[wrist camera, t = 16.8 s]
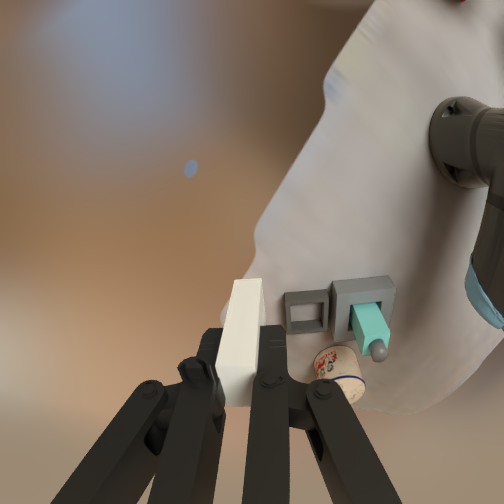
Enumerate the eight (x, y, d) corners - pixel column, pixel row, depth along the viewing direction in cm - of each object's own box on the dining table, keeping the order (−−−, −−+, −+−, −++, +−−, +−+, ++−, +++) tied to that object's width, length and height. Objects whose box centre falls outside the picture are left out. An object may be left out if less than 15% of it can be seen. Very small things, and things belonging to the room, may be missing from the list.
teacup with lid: (328, 338, 50) (338, 385, 40) (365, 350, 52) (379, 394, 41) (297, 376, 55) (300, 421, 45) (332, 385, 56) (339, 428, 46)
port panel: (388, 275, 44) (396, 287, 41) (381, 321, 48) (387, 335, 45) (332, 280, 45) (337, 294, 42) (330, 328, 49) (333, 342, 46)
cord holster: (326, 289, 46) (328, 297, 44) (325, 322, 49) (327, 331, 47) (284, 292, 47) (285, 301, 44) (286, 325, 50) (287, 334, 47)
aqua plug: (370, 292, 46) (396, 344, 34) (368, 310, 47) (390, 363, 35) (348, 294, 46) (369, 348, 34) (347, 313, 48) (365, 368, 36)
